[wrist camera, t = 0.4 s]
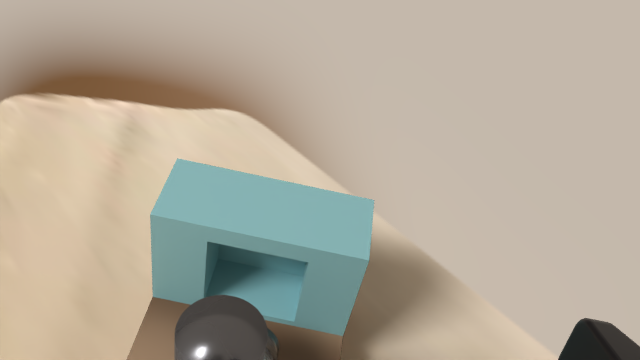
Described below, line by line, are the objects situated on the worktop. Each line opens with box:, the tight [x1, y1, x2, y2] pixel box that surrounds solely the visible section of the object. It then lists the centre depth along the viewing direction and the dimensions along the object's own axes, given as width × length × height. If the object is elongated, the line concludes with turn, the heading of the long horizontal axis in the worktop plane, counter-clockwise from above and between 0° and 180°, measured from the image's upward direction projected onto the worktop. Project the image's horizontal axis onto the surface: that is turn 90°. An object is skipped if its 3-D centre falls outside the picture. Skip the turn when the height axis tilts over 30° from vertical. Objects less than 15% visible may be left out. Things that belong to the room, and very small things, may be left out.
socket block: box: [150, 158, 374, 336], centre depth 24 cm, size 3×8×5 cm, turn 83°
